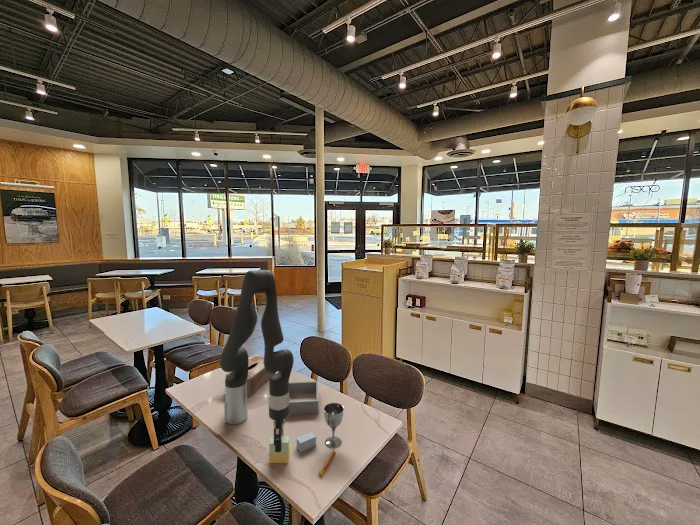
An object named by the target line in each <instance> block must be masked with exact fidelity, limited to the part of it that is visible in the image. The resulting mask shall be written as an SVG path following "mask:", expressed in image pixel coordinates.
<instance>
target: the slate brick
mask: <svg viewBox="0 0 700 525" xmlns="http://www.w3.org/2000/svg"><path fill="white" fill-rule="evenodd" d="M316 446H317V436H316V434H315V433H314V432H313V431H310V432H308V433H306V434H302V435H301V436H298V437H296V448H297V450H298V451H299V452H300V453H301V452H304V451H307V450H308V449H309V450H310V449H312V448H313V447H316Z"/></svg>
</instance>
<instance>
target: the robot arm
mask: <svg viewBox="0 0 700 525" xmlns="http://www.w3.org/2000/svg"><path fill="white" fill-rule="evenodd" d="M243 277H244V278H243V280H242V286H241V292H240V296H239V301H238V305H237V309H236V311H235V315H234V317H233V320H232V325H231V328H230V332H229V335H228V337H227V340H226V343H225V345H224V348H223V350H222V351H221V355H220V359H219V364H220V368H221V370H222V371H223V372H225V373H230V372H231V371H232V372H231V373H230V374H229V375H228V376H227V377H226V376H225V378H224V379H225V380H224V386H225V388H224V389H225V391H224V392H225V393H224V394H225V399H224V404H223V408H224V423H226V424H229V425H239V424H242V423H243V422H245V421H246V420H247V418H248V397H247V377H248V360H249V354H248V351H247V349H246V348H245V347H244V346H243V345H244V344H245V343H246V342H247V341H248V340H249V339H250V338H251V336H253V333H254V331H255V329H256V325H257V323H258V322H257V321H258V313H257V311H256V310H255V307H254V305H253V298H254V296H255V294H256V295H257V294H265V299H266V300H265V301H266V304H265V308H264V311H263V314H262V317H261V319H260V320H261V322H260V325H261V326H260V327H261V333H262V337H263V341H264V355H263V357H264V367H265V369H266V371H267V372H269V373H275V372H276V374H275V375H273V376H272V377H271V378H270V380H269V381H268V382H269V383H268V385H269V389H268V390H269V393H268V417H269V418H270V419H271V420H273V425H272V426H273V437H274V445H275V452H281V449H282V448H281V442H282V437H284V433H285V432H284V429H285V428H284V427H285V423H286V419H287V418H288V417H289V416H290V414H289V413H290V403H289V402H290V394H289V383H290V378H291V374H292V371H293V370H292V369H293V367H294V354H293V353H292V351H291V350H290V349H287V348H285V349H280V350H278V351H277V350H276V351H275V350H274V349H275V347H277V346H278V345H279V344H281V343H283V342H284V334H283V331H282V326H281V323H280V318H279V311H278V310H279V307H278V296H277V286H276V285H277V284H276V280H275V276H274V274H273V272H272V271H271V270H270V269H269V270H268V269H252V270H251V269H250V270H248V271H247V272H246V273H245V275H244V276H243Z"/></svg>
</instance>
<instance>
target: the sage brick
mask: <svg viewBox="0 0 700 525" xmlns="http://www.w3.org/2000/svg"><path fill="white" fill-rule="evenodd" d="M289 447H290V436H288V435H287V436H284V435H283V436H282V442H281V448H282V449H281V452H275V445H274V436H273V437H272V436H271V437H269V443H268V455H269V454H275V453H287V452H288V451H289Z"/></svg>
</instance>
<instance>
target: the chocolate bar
mask: <svg viewBox="0 0 700 525" xmlns="http://www.w3.org/2000/svg"><path fill="white" fill-rule="evenodd" d="M336 455H337V452H336V450H335V449H332V451H331V452H330V454H329V455H328V457H327V459H326V460H325V462H324V464H323V465H322V467H321V469H320V471H319V472H318V474H317V476H320V477H324V475H325V474H326V472H327V471H328V469H329V467H330V465H331V463H332V462H333V460H334V458H335V456H336Z"/></svg>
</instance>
